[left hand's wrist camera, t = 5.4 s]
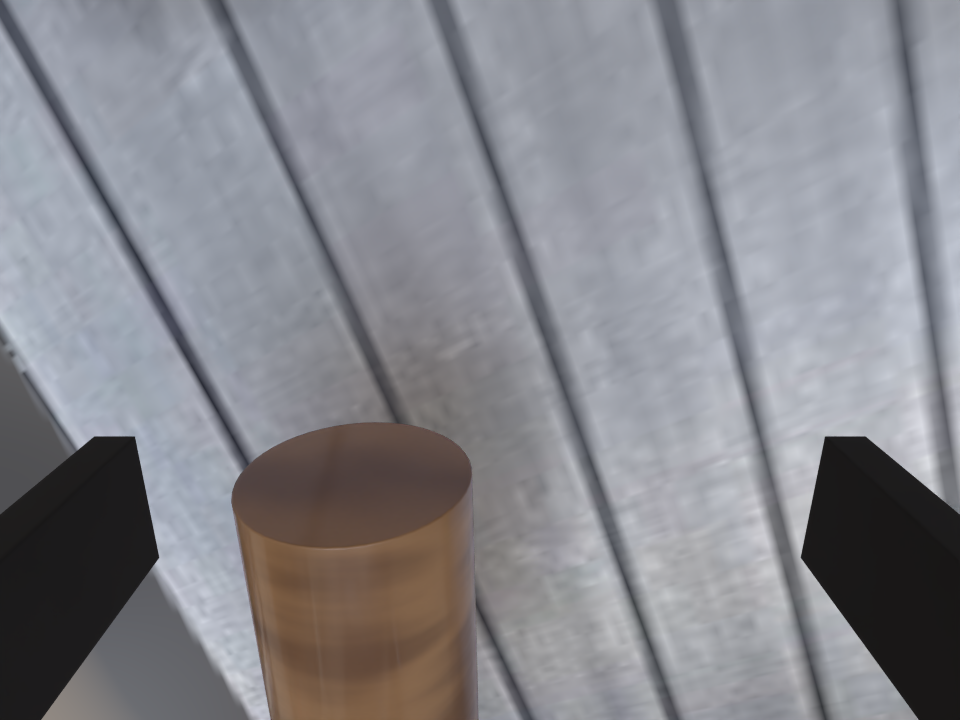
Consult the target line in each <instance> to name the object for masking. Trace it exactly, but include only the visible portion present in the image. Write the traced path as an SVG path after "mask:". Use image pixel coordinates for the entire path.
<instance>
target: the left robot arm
mask: <svg viewBox="0 0 960 720" xmlns="http://www.w3.org/2000/svg"><path fill="white" fill-rule="evenodd" d="M158 559H159V554H158V549H157V544H156V539H155V534H154V529H153V525H152V520H151V515H150V510H149V505H148V500H147V495H146V490H145V485H144V480H143V475H142V470H141V465H140V460H139V455H138V450H137V445H136V440H135V437H93V438H92V439H91V440H90V441H89V442H87V443H86V444H85V445H84V446H82V447H81V448H80V449H79V450H78V451H76V452H75V453H74V454H73V455H72V456H70V457H69V458H68V459H67V460H66V461H64V462H63V463H62V464H61V465H60V466H58V467H57V468H56V469H55V470H54V471H52V472H51V473H50V474H49V475H48V476H46V477H45V478H44V479H43V480H41V481H40V482H39V483H38V484H37V485H35V486H34V487H33V488H32V489H31V490H29V491H28V492H27V493H26V494H25V495H23V496H22V497H21V498H20V499H19V500H17V501H16V502H15V503H14V504H13V505H11V506H10V507H9V508H8V509H6V510H5V511H4V512H3V513H2V514H0V720H41V719H42V718H43V716H44V715H45V714H46V712H47V711H48V710H49V708H50V707H51V705H52V704H53V703H54V701H55V700H56V699H57V697H58V696H59V694H60V693H61V692H62V690H63V689H64V688H65V686H66V685H67V683H68V682H69V681H70V679H71V678H72V676H73V675H74V674H75V672H76V671H77V670H78V668H79V667H80V666H81V664H82V663H83V662H84V660H85V659H86V657H87V656H88V655H89V653H90V652H91V650H92V649H93V648H94V646H95V645H96V644H97V642H98V641H99V640H100V638H101V637H102V635H103V634H104V633H105V631H106V630H107V629H108V627H109V626H110V624H111V623H112V622H113V620H114V619H115V618H116V616H117V615H118V613H119V612H120V611H121V609H122V608H123V607H124V605H125V604H126V602H127V601H128V600H129V598H130V597H131V596H132V594H133V593H134V591H135V590H136V589H137V587H138V586H139V585H140V583H141V582H142V580H143V579H144V578H145V576H146V575H147V574H148V572H149V571H150V570H151V568H152V567H153V565H154V564H155V563H156V561H157V560H158ZM801 559H802V560H803V561H804V563H805V564H806V565H807V567H808V568H809V570H810V571H811V572H812V574H813V575H814V576H815V578H816V579H817V581H818V582H819V583H820V585H821V586H822V587H823V589H824V590H825V591H826V593H827V594H828V596H829V597H830V598H831V600H832V601H833V602H834V604H835V605H836V607H837V608H838V609H839V611H840V612H841V613H842V615H843V616H844V618H845V619H846V620H847V622H848V623H849V624H850V626H851V627H852V629H853V630H854V631H855V633H856V634H857V635H858V637H859V638H860V640H861V641H862V642H863V644H864V645H865V646H866V648H867V649H868V651H869V652H870V653H871V655H872V656H873V657H874V659H875V660H876V662H877V663H878V664H879V666H880V667H881V668H882V670H883V671H884V672H885V674H886V675H887V677H888V678H889V679H890V681H891V682H892V683H893V685H894V686H895V688H896V689H897V690H898V692H899V693H900V694H901V696H902V697H903V699H904V700H905V701H906V703H907V704H908V705H909V707H910V708H911V710H912V711H913V712H914V714H915V715H916V716H917V718H918V719H919V720H960V514H958V513H957V512H956V511H955V510H954V509H952V508H951V507H950V506H949V505H948V504H946V503H945V502H944V501H943V500H941V499H940V498H939V497H938V496H937V495H935V494H934V493H933V492H932V491H931V490H929V489H928V488H927V487H926V486H925V485H923V484H922V483H921V482H920V481H919V480H917V479H916V478H915V477H914V476H913V475H911V474H910V473H909V472H908V471H906V470H905V469H904V468H903V467H902V466H900V465H899V464H898V463H897V462H896V461H894V460H893V459H892V458H891V457H890V456H888V455H887V454H886V453H885V452H884V451H882V450H881V449H880V448H879V447H878V446H876V445H875V444H874V443H873V442H871V441H870V440H869V439H868V438H867V437H825V440H824V445H823V450H822V455H821V460H820V465H819V470H818V475H817V480H816V485H815V490H814V495H813V500H812V505H811V510H810V515H809V520H808V524H807V529H806V534H805V539H804V544H803V549H802V554H801Z"/></svg>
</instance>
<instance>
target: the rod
mask: <svg viewBox="0 0 960 720" xmlns="http://www.w3.org/2000/svg"><path fill="white" fill-rule="evenodd" d="M231 502H232V508H233V513H234V519H235V525H236V530H237V536H238V541H239V547H240V552H241V558H242V563H243V569H244V574H245V580H246V585H247V591H248V596H249V602H250V607H251V613H252V618H253V624H254V630H255V635H256V641H257V646H258V652H259V657H260V663H261V668H262V674H263V679H264V685H265V690H266V696H267V701H268V707H269V712H270V718H271V720H478V681H477V642H476V603H475V564H474V525H473V486H472V467H471V464H470V461H469V459H468V457H467V455H466V454H465V452H464V451H463V450H462V449H461V448H460V447H459V446H458V445H457V444H456V443H454V442H453V441H452V440H450V439H448V438H446V437H445V436H443V435H441V434H438V433H436V432H433V431H430V430H427V429H424V428H420V427H416V426H411V425H405V424H397V423H379V422H372V423H355V424H346V425H339V426H333V427H328V428H324V429H320V430H316V431H312V432H309V433H306V434H303V435H300V436H297V437H294V438H292V439H289V440H287V441H285V442H283V443H281V444H279V445H277V446H275V447H273V448H271V449H269V450H268V451H266V452H264V453H263V454H262V455H260V456H259V457H258V458H256V459H255V460H254V461H253V462H251V463H250V464H249V465H248V466H247V467H246V468H245V469H244V471H243V472H242V473H241V474H240V476H239V477H238V479H237V481H236V483H235V485H234V488H233V491H232V499H231Z"/></svg>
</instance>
